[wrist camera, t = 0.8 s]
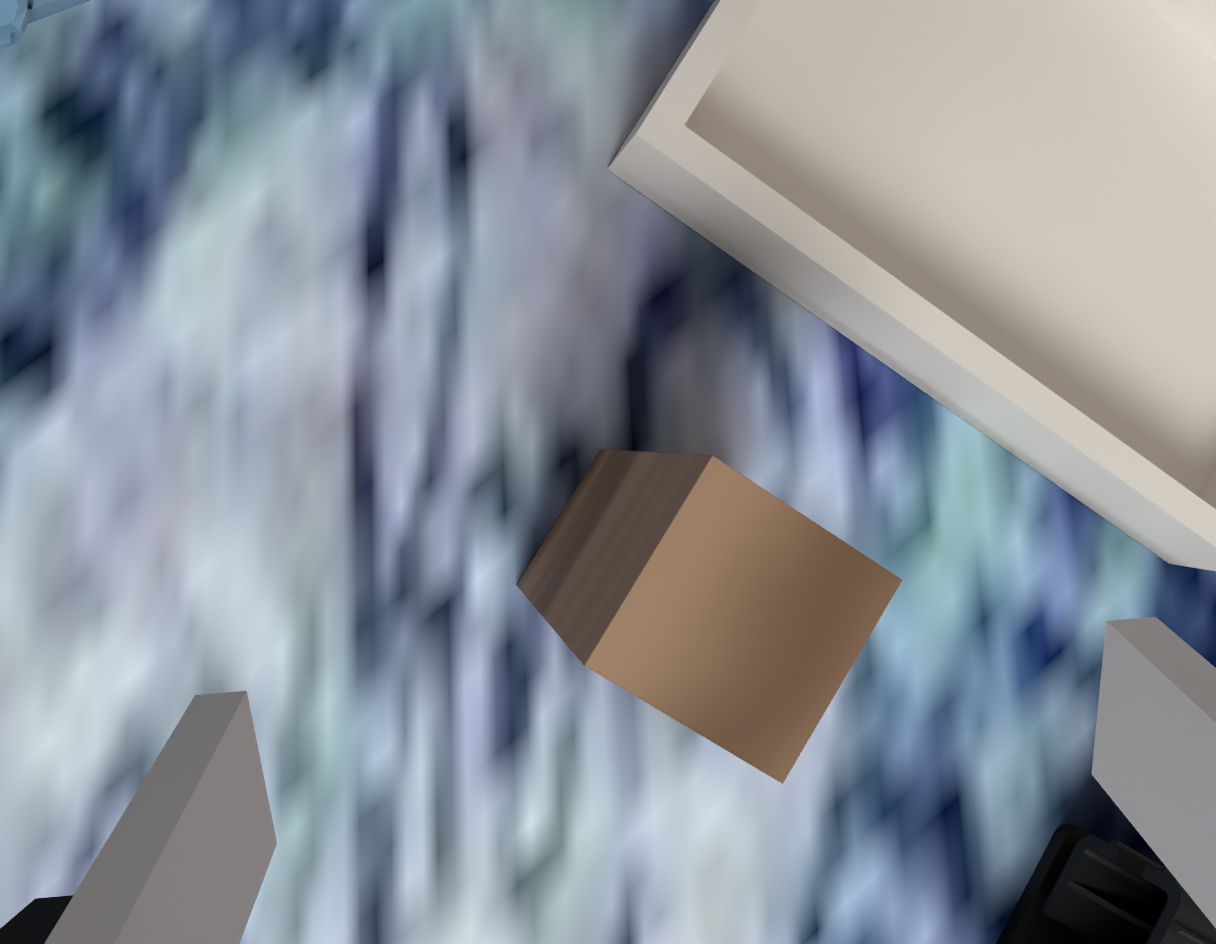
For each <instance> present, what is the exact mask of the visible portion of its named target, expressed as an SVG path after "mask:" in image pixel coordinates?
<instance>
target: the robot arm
mask: <svg viewBox="0 0 1216 944" xmlns="http://www.w3.org/2000/svg"><path fill="white" fill-rule="evenodd" d="M87 1H89V0H0V49H3V48H6V47H8V46H10V45H11V44H13V43H15V42H17V41H18V40H19V38H20V37H21V35H22V34H23V32H24V30H25V28H26V25H27V24H28V23H31V22H34V21H36V20H39V19H42V18H44V17H47V16H49V15H52V14H55V13H57V12H60V11H63V10H65V9H68V8H71V7H73V6H76V5H79V4H81V3H84V2H87ZM1092 775H1093V776H1094V778H1095V779H1096V780H1097V781H1098V783H1099V784H1100V785H1101V786H1102V788H1103V789H1104V790H1105V791H1106V793H1107V794H1108V795H1109V796H1110V798H1111V799H1112V800H1113V801H1114V803H1115V804H1116V805H1117V806H1118V808H1119V809H1120V810H1121V811H1122V813H1123V814H1124V815H1125V816H1126V818H1127V819H1128V820H1129V821H1130V822H1131V824H1132V825H1133V826H1134V827H1135V829H1136V830H1137V831H1138V832H1139V834H1140V835H1141V836H1142V837H1143V839H1144V840H1145V841H1146V842H1147V844H1148V845H1149V846H1150V847H1151V849H1152V850H1153V851H1154V852H1155V854H1156V855H1157V856H1158V857H1159V859H1160V860H1161V861H1162V862H1163V863H1164V865H1165V866H1166V867H1167V868H1168V870H1169V871H1170V872H1171V873H1172V875H1173V876H1174V877H1175V878H1176V880H1177V881H1178V882H1179V883H1180V885H1181V886H1182V887H1183V888H1184V890H1185V891H1186V892H1187V893H1188V895H1189V896H1190V897H1191V898H1192V900H1193V901H1194V902H1195V903H1196V904H1197V906H1198V907H1199V908H1200V909H1201V911H1202V912H1203V913H1204V914H1205V916H1206V917H1207V918H1208V919H1209V921H1210V922H1211V923H1212V924H1213V926H1214V927H1215V928H1216V668H1215V667H1214V666H1213V665H1211V664H1210V663H1209V662H1208V661H1207V660H1205V659H1204V658H1203V657H1202V656H1201V655H1200V654H1198V653H1197V652H1196V651H1195V650H1194V649H1193V648H1191V647H1190V646H1189V645H1188V644H1187V643H1185V642H1184V641H1183V640H1182V639H1181V638H1180V637H1178V636H1177V635H1176V634H1175V633H1174V632H1173V631H1171V630H1170V629H1169V628H1168V627H1167V626H1165V625H1164V624H1163V623H1162V622H1161V621H1160V620H1158V619H1157V618H1156V617H1151V618H1139V619H1127V620H1114V621H1106V631H1105V641H1104V652H1103V662H1102V672H1101V682H1100V692H1099V703H1098V713H1097V723H1096V733H1095V743H1094V754H1093V764H1092ZM276 844H277V841H276V836H275V831H274V826H273V821H272V816H271V811H270V806H269V801H268V796H267V791H266V786H265V781H264V776H263V771H262V766H261V761H260V756H259V751H258V746H257V741H256V736H255V731H254V726H253V721H252V716H251V711H250V706H249V701H248V696H247V691H241V692H228V693H216V694H204V695H195V697H194V698H193V700H192V702H191V703H190V705H189V706H188V708H187V710H186V711H185V713H184V715H183V716H182V718H181V720H180V721H179V723H178V725H177V726H176V728H175V729H174V731H173V733H172V734H171V736H170V738H169V739H168V741H167V743H166V744H165V746H164V748H163V749H162V751H161V753H160V754H159V756H158V757H157V759H156V761H155V762H154V764H153V766H152V767H151V769H150V771H149V772H148V774H147V776H146V777H145V779H144V781H143V782H142V784H141V785H140V787H139V789H138V790H137V792H136V794H135V795H134V797H133V799H132V800H131V802H130V804H129V805H128V807H127V809H126V810H125V812H124V813H123V815H122V817H121V818H120V820H119V822H118V823H117V825H116V827H115V828H114V830H113V832H112V833H111V835H110V837H109V838H108V840H107V841H106V843H105V845H104V846H103V848H102V850H101V851H100V853H99V855H98V856H97V858H96V860H95V861H94V863H93V864H92V866H91V868H90V869H89V871H88V873H87V874H86V876H85V878H84V879H83V881H82V883H81V884H80V886H79V888H78V889H77V891H76V892H75V894H74V895H73V896H61V897H49V898H38V899H35V900H33V901H32V902H31V903H30V904H29V905H28V906H26V907H25V908H24V909H23V910H22V911H20V912H19V913H18V914H17V915H16V916H15V917H13V918H12V919H11V920H10V921H9V922H8V923H6V924H5V925H4V926H3V927H2V928H1V929H0V944H239V943H240V940H241V938H242V935H243V932H244V930H245V927H246V924H247V922H248V919H249V916H250V914H251V911H252V908H253V906H254V903H255V900H256V898H257V895H258V892H259V890H260V887H261V884H262V882H263V879H264V876H265V874H266V871H267V868H268V866H269V863H270V860H271V858H272V855H273V852H274V850H275V847H276Z"/></svg>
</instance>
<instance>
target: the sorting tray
mask: <svg viewBox="0 0 1216 944" xmlns="http://www.w3.org/2000/svg"><path fill="white" fill-rule="evenodd" d="M608 170H609V171H610V172H612V173H613V174H615V175H616V176H618V177H619V178H620V179H622V180H623V181H625V182H626V183H628V184H629V185H630V186H632V187H633V188H635V189H636V190H637V191H639V192H640V193H642V194H643V195H645V196H646V197H647V198H649V199H650V200H652V201H653V202H655V203H656V204H657V205H659V206H660V207H662V208H663V209H665V210H666V211H667V212H669V213H670V214H672V215H673V216H675V217H676V218H677V219H679V220H680V221H682V222H683V223H685V224H686V225H687V226H689V227H690V228H692V229H693V230H694V231H696V232H697V233H699V234H700V235H702V236H703V237H704V238H706V239H707V240H709V241H710V242H712V243H713V244H714V245H716V246H717V247H719V248H720V249H722V250H723V251H724V252H726V253H727V254H729V255H730V256H732V257H733V258H734V259H736V260H737V261H739V262H740V263H742V264H743V265H744V266H746V267H747V268H749V269H750V270H751V271H753V272H754V273H756V274H757V275H759V276H760V277H761V278H763V279H764V280H766V281H767V282H769V283H770V284H771V285H773V286H774V287H776V288H777V289H779V290H780V291H781V292H783V293H784V294H786V295H787V296H789V297H790V298H791V299H793V300H794V301H796V302H797V303H799V304H800V305H801V306H803V307H804V308H806V309H807V310H808V311H810V312H811V313H813V314H814V315H816V316H817V317H818V318H820V319H821V320H823V321H824V322H826V323H827V324H828V325H830V326H831V327H833V328H834V329H836V330H837V331H838V332H840V333H841V334H843V335H844V336H846V337H847V338H848V339H850V340H851V341H853V342H854V343H855V344H857V345H858V346H860V347H861V348H863V349H864V350H865V351H867V352H868V353H870V354H871V355H873V356H874V357H875V358H877V359H878V360H880V361H881V362H883V363H884V364H885V365H887V366H888V367H890V368H891V369H893V370H894V371H895V372H897V373H898V374H900V375H901V376H903V377H904V378H905V379H907V380H908V381H910V382H911V383H912V384H914V385H915V386H917V387H918V388H920V389H921V390H922V391H924V392H925V393H927V394H928V395H930V396H931V397H932V398H934V399H935V400H937V401H938V402H940V403H941V404H942V405H944V406H945V407H947V408H948V409H950V410H951V411H952V412H954V413H955V414H957V415H958V416H960V417H961V418H962V419H964V420H965V421H967V422H968V423H969V424H971V425H972V426H974V427H975V428H977V429H978V430H979V431H981V432H982V433H984V434H985V435H987V436H988V437H989V438H991V439H992V440H994V441H995V442H997V443H998V444H999V445H1001V446H1002V447H1004V448H1005V449H1007V450H1008V451H1009V452H1011V453H1012V454H1014V455H1015V456H1016V457H1018V458H1019V459H1021V460H1022V461H1024V462H1025V463H1026V464H1028V465H1029V466H1031V467H1032V468H1034V469H1035V470H1036V471H1038V472H1039V473H1041V474H1042V475H1044V476H1045V477H1046V478H1048V479H1049V480H1051V481H1052V482H1054V483H1055V484H1056V485H1058V486H1059V487H1061V488H1062V489H1064V490H1065V491H1066V492H1068V493H1069V494H1071V495H1072V496H1073V497H1075V498H1076V499H1078V500H1079V501H1081V502H1082V503H1083V504H1085V505H1086V506H1088V507H1089V508H1091V509H1092V510H1093V511H1095V512H1096V513H1098V514H1099V515H1101V516H1102V517H1103V518H1105V519H1106V520H1108V521H1109V522H1111V523H1112V524H1113V525H1115V526H1116V527H1118V528H1119V529H1121V530H1122V531H1123V532H1125V533H1126V534H1128V535H1129V536H1130V537H1132V538H1133V539H1135V540H1136V541H1138V542H1139V543H1140V544H1142V545H1143V546H1145V547H1146V548H1148V549H1149V550H1150V551H1152V552H1153V553H1155V554H1156V555H1158V556H1159V557H1160V558H1162V559H1163V560H1165V561H1166V562H1168V563H1169V564H1175V565H1181V566H1188V567H1194V568H1200V569H1206V570H1212V571H1216V0H714V2H713V4H712V5H711V7H710V8H709V10H708V11H707V13H706V15H705V16H704V18H703V19H702V21H701V22H700V24H699V26H698V27H697V29H696V30H695V32H694V33H693V35H692V37H691V38H690V40H689V41H688V43H687V45H686V46H685V48H684V49H683V51H682V52H681V54H680V56H679V57H678V59H677V60H676V62H675V63H674V65H673V67H672V68H671V70H670V71H669V73H668V74H667V76H666V78H665V79H664V81H663V82H662V84H661V85H660V87H659V89H658V90H657V92H656V93H655V95H654V96H653V98H652V100H651V101H650V103H649V104H648V106H647V108H646V109H645V111H644V112H643V114H642V115H641V117H640V119H639V120H638V122H637V123H636V125H635V126H634V128H633V130H632V131H631V133H630V134H629V136H628V137H627V139H626V141H625V142H624V144H623V145H622V147H621V148H620V150H619V152H618V153H617V155H616V156H615V158H614V160H613V161H612V163H611V164H610V166H609V167H608Z"/></svg>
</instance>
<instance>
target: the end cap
mask: <svg viewBox="0 0 1216 944" xmlns="http://www.w3.org/2000/svg"><path fill="white" fill-rule="evenodd" d="M997 944H1216V928H1215V927H1214V926H1213V924H1212V923H1211V922H1210V921H1209V919H1208V918H1207V917H1206V916H1205V914H1204V913H1203V912H1202V911H1201V909H1200V908H1199V907H1198V906H1197V904H1196V903H1195V902H1194V901H1193V900H1192V898H1191V897H1190V896H1189V895H1188V893H1187V892H1186V891H1185V890H1184V888H1183V887H1182V886H1181V885H1180V883H1179V882H1178V881H1177V880H1176V878H1175V877H1174V876H1173V875H1172V873H1171V872H1170V871H1169V870H1168V868H1167V867H1166V866H1165V865H1164V866H1162V865H1160V864H1158V863H1156V862H1155V861H1153V860H1151V859H1149V858H1148V857H1146V856H1144V855H1142V854H1141V853H1139V852H1137V851H1136V850H1134V849H1132V848H1130V847H1129V846H1127V845H1125V844H1123V843H1122V842H1120V841H1118V840H1111V841H1108V842H1105V841H1103V840H1101V839H1100V838H1098V837H1096V836H1094V835H1092V834H1091V833H1089V832H1087V831H1085V830H1084V829H1082V828H1080V827H1078V826H1077V825H1074V824H1069V823H1067V824H1065V825H1062V826H1060V827H1059V828H1058V829H1057V830H1056V832H1055V833H1054V835H1053V837H1052V839H1051V841H1050V843H1049V845H1048V846H1047V848H1046V850H1045V852H1044V854H1043V856H1042V858H1041V860H1040V862H1039V864H1038V866H1037V868H1036V869H1035V871H1034V873H1033V875H1032V877H1031V879H1030V881H1029V883H1028V885H1027V887H1026V889H1025V891H1024V892H1023V894H1022V896H1021V898H1020V900H1019V902H1018V904H1017V906H1016V908H1015V910H1014V912H1013V914H1012V915H1011V917H1010V919H1009V921H1008V923H1007V925H1006V927H1005V929H1004V931H1003V933H1002V935H1001V936H1000V938H999V940H998V942H997Z"/></svg>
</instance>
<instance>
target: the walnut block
mask: <svg viewBox="0 0 1216 944" xmlns="http://www.w3.org/2000/svg"><path fill="white" fill-rule="evenodd" d="M901 581H902V579H900V578H899V577H897V576H896V575H894V574H892V573H891V572H889V571H888V570H886V569H885V568H883V567H882V566H880V565H879V564H877V563H876V562H874V561H873V560H871V559H870V558H868V557H867V556H865V555H864V554H862V553H860V552H859V551H857V550H856V549H854V548H853V547H851V546H850V545H848V544H847V543H845V542H844V541H842V540H841V539H839V538H838V537H836V536H835V535H833V534H832V533H830V532H828V531H827V530H825V529H824V528H822V527H821V526H819V525H818V524H816V523H815V522H813V521H812V520H810V519H809V518H807V517H806V516H804V515H803V514H801V513H800V512H798V511H797V510H795V509H793V508H792V507H790V506H789V505H787V504H786V503H784V502H783V501H781V500H780V499H778V498H777V497H775V496H774V495H772V494H771V493H769V492H768V491H766V490H765V489H763V488H761V487H760V486H758V485H757V484H755V483H754V482H752V481H751V480H749V479H748V478H746V477H745V476H743V475H742V474H740V473H739V472H737V471H736V470H734V469H733V468H731V467H729V466H728V465H726V464H725V463H723V462H722V461H720V460H719V459H717V458H716V457H714V456H713V455H695V454H677V453H659V452H641V451H624V450H606V449H600V451H599V453H598V454H597V456H596V457H595V459H594V461H593V462H592V464H591V465H590V467H589V469H588V470H587V472H586V474H585V475H584V477H583V478H582V480H581V482H580V483H579V485H578V486H577V488H576V490H575V491H574V493H573V495H572V496H571V498H570V499H569V501H568V503H567V504H566V506H565V507H564V509H563V511H562V512H561V514H560V516H559V517H558V519H557V520H556V522H555V524H554V525H553V527H552V528H551V530H550V532H549V533H548V535H547V536H546V538H545V540H544V541H543V543H542V545H541V546H540V548H539V549H538V551H537V553H536V554H535V556H534V557H533V559H532V561H531V562H530V564H529V566H528V567H527V569H526V570H525V572H524V574H523V575H522V577H521V578H520V580H519V582H518V583H517V586H518V588H519V589H520V590H521V591H522V592H523V594H524V595H525V596H526V597H527V598H528V599H529V601H530V602H531V603H532V604H533V605H534V607H535V608H536V609H537V610H538V611H539V613H540V614H541V615H542V616H543V617H544V618H545V620H546V621H547V622H548V623H549V624H550V626H551V627H552V628H553V629H554V630H555V631H556V633H557V634H558V635H559V636H560V637H561V639H562V640H563V641H564V642H565V643H566V644H567V646H568V647H569V648H570V649H571V650H572V652H573V653H574V654H575V655H576V656H577V657H578V659H579V660H580V661H581V662H582V663H583V665H584V666H586V667H587V668H589V669H591V670H592V671H594V672H596V673H597V674H599V675H601V676H603V677H604V678H606V679H608V680H609V681H611V682H613V683H614V684H616V685H618V686H619V687H621V688H623V689H624V690H626V691H628V692H629V693H631V694H633V695H634V696H636V697H638V698H639V699H641V700H643V701H645V702H646V703H648V704H650V705H651V706H653V707H655V708H656V709H658V710H660V711H661V712H663V713H665V714H666V715H668V716H670V717H671V718H673V719H675V720H676V721H678V722H680V723H681V724H683V725H685V726H687V727H688V728H690V729H692V730H693V731H695V732H697V733H698V734H700V735H702V736H703V737H705V738H707V739H708V740H710V741H712V742H713V743H715V744H717V745H718V746H720V747H722V748H723V749H725V750H727V751H729V752H730V753H732V754H734V755H735V756H737V757H739V758H740V759H742V760H744V761H745V762H747V763H749V764H750V765H752V766H754V767H755V768H757V769H759V770H760V771H762V772H764V773H765V774H767V775H769V776H771V777H772V778H774V779H776V780H777V781H779V782H781V783H782V784H783V782H784V781H785V779H786V777H787V775H788V774H789V772H790V770H791V769H792V767H793V765H794V764H795V762H796V760H797V758H798V757H799V755H800V753H801V752H802V750H803V748H804V746H805V745H806V743H807V741H808V740H809V738H810V736H811V735H812V733H813V731H814V729H815V728H816V726H817V724H818V723H819V721H820V719H821V718H822V716H823V714H824V712H825V711H826V709H827V707H828V706H829V704H830V702H831V700H832V699H833V697H834V695H835V694H836V692H837V690H838V689H839V687H840V685H841V683H842V682H843V680H844V678H845V677H846V675H847V673H848V671H849V670H850V668H851V666H852V665H853V663H854V661H855V660H856V658H857V656H858V654H859V653H860V651H861V649H862V648H863V646H864V644H865V643H866V641H867V639H868V637H869V636H870V634H871V632H872V631H873V629H874V627H875V625H876V624H877V622H878V620H879V619H880V617H881V615H882V614H883V612H884V610H885V608H886V607H887V605H888V603H889V602H890V600H891V598H892V597H893V595H894V593H895V591H896V590H897V588H898V586H899V585H900V583H901Z"/></svg>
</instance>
